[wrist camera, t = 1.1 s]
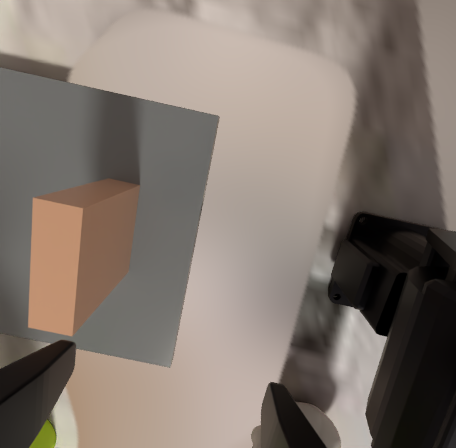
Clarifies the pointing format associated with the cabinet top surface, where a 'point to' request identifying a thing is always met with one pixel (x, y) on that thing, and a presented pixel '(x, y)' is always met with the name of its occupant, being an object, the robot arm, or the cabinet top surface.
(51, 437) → the soap dispenser
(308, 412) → the grey lumpy pointed piece
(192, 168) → the slate board
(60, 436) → the cabinet top surface
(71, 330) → the tile
